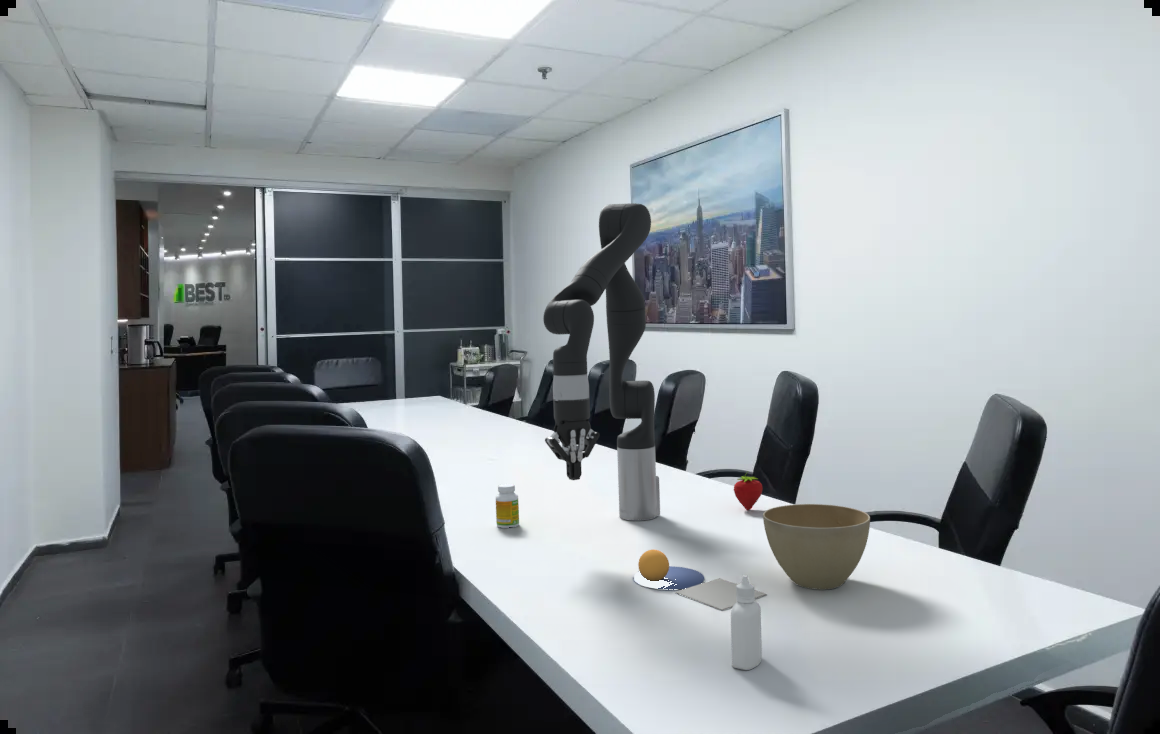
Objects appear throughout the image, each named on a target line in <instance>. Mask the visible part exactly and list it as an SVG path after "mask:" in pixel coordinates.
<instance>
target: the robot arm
mask: <svg viewBox="0 0 1160 734" xmlns="http://www.w3.org/2000/svg"><path fill="white" fill-rule="evenodd" d="M651 228H652V217H651V213H650V211H649V209H648V207H647V206H645V205H644V204H642V203H637V202H636V203H635V202H634V203H633V202H632V203H610V204H606V205H604V206H603V207H602V209H601V211H599V217H598V231H599V234H598V235H599V243H600V248H601V249H599V251H597V252H596V253H594V254H593V255H591V256H590V257H588V259H586V261H584V263H582V265H581V266H580V267H579V269H578V271H577V272H576V274H575V275H574V277H573V278H572V280H571V282H570V283H569V284H567V285H566V286H565V287H563V289H561V290H560V291H559V292H558V293H557V294H556V295H555V296H554V297H553V298H552V299H550V301H549V302H548V303H547V305H546V307H545V310H544V312H543V318H542V319H543V320H542V321H543V324H544V327H545V329H546V330H547V331H548V332H549V333H550V334H553V335H560V336H561V335H569V336H568V340H567V343H566V344H565V345H562V346H561V345H560V346H557V347H556V348H555V349H554V350H553V353H552V354H553V355H552V362H553V363H552V364H553V365H552V367H553V369H552V370H553V382H552V395H553V396H552V399H553V401H552V402H553V419H554V422H555V424H554V427H553V433H552V434H551V435H550V436H549V437H548V436H547V437H545V438H544V442H545V444H546V445H547V446H548V447H549V449H550V450H551V452H552V453H553V454H554V455H555V457H556V458H557V459H558V460H559V461H560V460H562V461H564V462H565V464H566V465H565V466H566V476H567V478H568V480H570V481H578V480H580V479H581V477H582V461H583V459H585V458H589V456H590V455H591V453H592V452H593V449H594V447H595V445H596V443H597V442H598V440H599V438H600V436H601V435H600V432H598V431H594V430H593V429H592V425H591V423H590V420H589V419H590V417H591V403H590V402H591V401H590V400H591V399H590V383H589V377H588V356H587V355H588V351H589V347H590V344H591V343H590V342H591V339H592V332H593V329H594V323H595V314H594V310H593V308H592V307H593V306H594V305H596V304H597V303H598V301H599V300H600V298H601V297H602V295H603V293H604V292H605V312H606V313H605V314H606V316H605V317H606V326H607V337H608V339H607V340H608V341H607V342H608V349H609V350H608V353H609V354H608V355H609V357H608V358H609V391H608V393H609V408H610V413H611V415H612V417H613V418H615V419H617V420H618V419H619V420H632V419H633V420H634V419H635V420H636V419H637V420H639V419H640V420H641V422H640V423H639V425H637V426H635V427H634V428H633V429H631V430H628V431H624V432H623V433H620V434H619V435H617V438H616V451H617V455H616V456H617V481H618V484H617V485H618V514H619V518H620V519H622V520H628V521H647V520H649V521H650V520H653V519H655V518H657V517H658V516H661V496H660V494H661V492H660V477H659V476H658V475H657V467H656V465H657V464H656V441H655V439H656V437H655V404H656V403H655V402H656V401H655V400H656V397H655V396H656V395H655V388H654V384H653V383H652V382H651V381H650V380H623V374H624V371H625V368H626V366H627V363H628V361H629V359H630V357H631V355H632V353H633V351H634V350H635V348H636V347H637V345H638V344H639V342H640V341H641V339H642V337H643V335H644V333H645V330H646V327H647V326H646V325H647V324H646V323H647V322H646V321H647V320H646V302H645V298H644V295H643V293H642V290H641V289H640V287H639V285H638V284H637V283H636V281H635V280H634V278H633V276H632V275H631V273H630V271H629V269H628V268H627V265H626V262H627V261H628V260H629V259H630V258H631V257H632V255H633V254H635V252H636V251H637V250H638V249H639V248H640V247H641V246H642V245H643V244H644V242H646V239H647V238H648V237H649V234H650V232H651ZM560 443H561V444H560Z"/></svg>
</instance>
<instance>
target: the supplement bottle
mask: <svg viewBox="0 0 1160 734" xmlns="http://www.w3.org/2000/svg"><path fill="white" fill-rule="evenodd" d="M497 491H498V494H497V495H496V496H495V513H496V514H495V519H496V521H495V522H496V526H497V527H498V528H500V527H503V528H502V529H510V528H509V527H513V528H516V527H518V526H519V525H520V510H519V509H520V508H519V495H518V494H517V493H515V492H516V486H515V484H514V483H513V484H512V483H501V484H499V485H498V486H497ZM515 526H516V527H515Z"/></svg>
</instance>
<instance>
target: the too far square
mask: <svg viewBox="0 0 1160 734" xmlns="http://www.w3.org/2000/svg"><path fill="white" fill-rule="evenodd" d="M737 584H738V583H735V582H733V581H729V580H726V579H723V578H721V577H719V578H716V579H712V580H709V581H706V582H703V583H702V584H699V585H696V586H692V587H689V588H686V589H683V590H675V592H676V593H678V594H677V595H679V594H681V595H683V596H682V597H684V596H686V597H685V598H687V597H688V598H687V599H689V598H691V599H690V600H692V599H694V600H693V601H695V600H697V601H699V602H698V603H700V602H702V603H701V604H703V603H704V604H703V605H706V606H709V607H711V608H714V609H716V610H719V611H725V610H727V609H732V607H733V606H734V604H735V603H736V602H737V600H736V585H737ZM676 593H675V594H676ZM754 593H755V600H756V599H760V598H762V597H766V596H767V595H768V593H766V592H763V591H759V590H757V589H754ZM681 595H680V596H681ZM697 601H696V602H697Z"/></svg>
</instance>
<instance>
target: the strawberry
mask: <svg viewBox="0 0 1160 734" xmlns="http://www.w3.org/2000/svg"><path fill="white" fill-rule="evenodd" d="M747 474H748V472H746V473H745V474H744V476H740V478H737V479H736V480H737V481H736V483H734V485H733V493H734V496H735V498H736V499H737V500H738V502H739V503H740V504H741V506H742V507H743V508H744V510H746V511H750V510H751V509H752V508H753V507H754V505H755V504H756V503H757V502H758V501H759V498H761V496H762V493H763V489H764V488H763V484H762V483H761V481H759V478H757V477H756V476H746V475H747Z"/></svg>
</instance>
